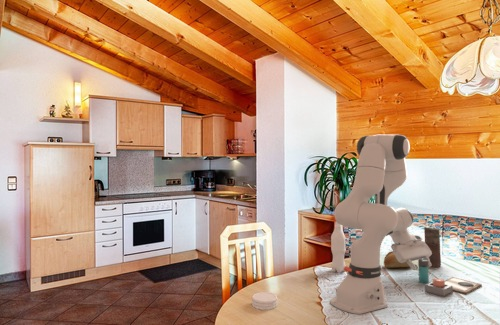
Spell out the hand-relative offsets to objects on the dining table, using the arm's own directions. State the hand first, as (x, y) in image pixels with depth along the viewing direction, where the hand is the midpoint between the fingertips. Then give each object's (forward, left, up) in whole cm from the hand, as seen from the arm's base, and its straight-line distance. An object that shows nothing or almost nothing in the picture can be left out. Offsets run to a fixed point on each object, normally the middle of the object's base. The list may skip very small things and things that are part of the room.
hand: (423, 267), depth 158 cm
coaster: (-73, +25, -7) cm, 78 cm away
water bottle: (-18, +34, -7) cm, 39 cm away
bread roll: (+12, +20, -7) cm, 24 cm away
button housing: (-7, -10, -7) cm, 14 cm away
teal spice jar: (0, 0, -7) cm, 7 cm away
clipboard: (+7, -12, -7) cm, 15 cm away
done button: (-7, -10, -5) cm, 13 cm away
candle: (+29, +10, -7) cm, 31 cm away
